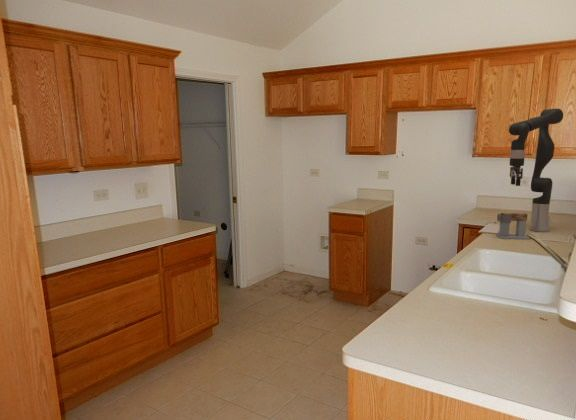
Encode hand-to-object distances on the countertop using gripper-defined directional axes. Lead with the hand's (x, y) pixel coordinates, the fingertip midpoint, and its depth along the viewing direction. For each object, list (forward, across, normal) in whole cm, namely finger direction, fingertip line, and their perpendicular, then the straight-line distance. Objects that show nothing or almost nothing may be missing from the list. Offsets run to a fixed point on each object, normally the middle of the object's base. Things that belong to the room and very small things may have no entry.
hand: (515, 185), depth 244 cm
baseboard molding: (+31, +14, +8) cm, 34 cm away
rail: (+19, -11, +3) cm, 23 cm away
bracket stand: (+30, -11, +3) cm, 32 cm away
